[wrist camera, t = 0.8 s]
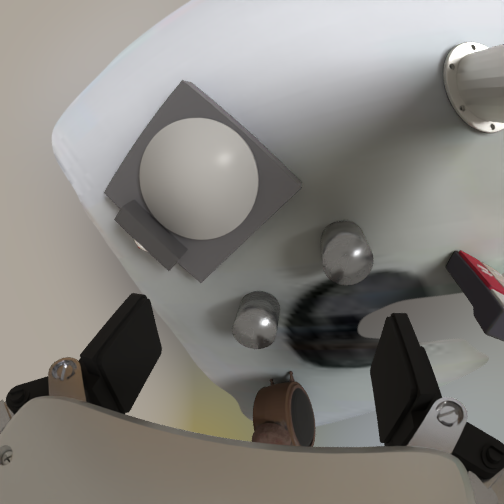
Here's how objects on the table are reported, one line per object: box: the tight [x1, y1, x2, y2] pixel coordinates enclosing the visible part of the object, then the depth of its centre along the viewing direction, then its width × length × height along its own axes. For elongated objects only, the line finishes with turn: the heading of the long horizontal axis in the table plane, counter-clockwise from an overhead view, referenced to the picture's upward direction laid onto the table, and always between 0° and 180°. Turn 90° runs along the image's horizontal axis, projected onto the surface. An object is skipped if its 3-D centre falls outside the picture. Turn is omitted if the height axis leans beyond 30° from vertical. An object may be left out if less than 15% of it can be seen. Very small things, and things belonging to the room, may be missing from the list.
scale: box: [104, 80, 302, 283], centre depth 36 cm, size 19×19×6 cm
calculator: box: [446, 250, 504, 341], centre depth 30 cm, size 11×4×15 cm, turn 73°
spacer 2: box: [321, 220, 373, 285], centre depth 36 cm, size 6×6×6 cm
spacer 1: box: [232, 291, 280, 349], centre depth 42 cm, size 6×6×6 cm
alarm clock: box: [252, 371, 315, 447], centre depth 43 cm, size 14×7×20 cm, turn 28°
